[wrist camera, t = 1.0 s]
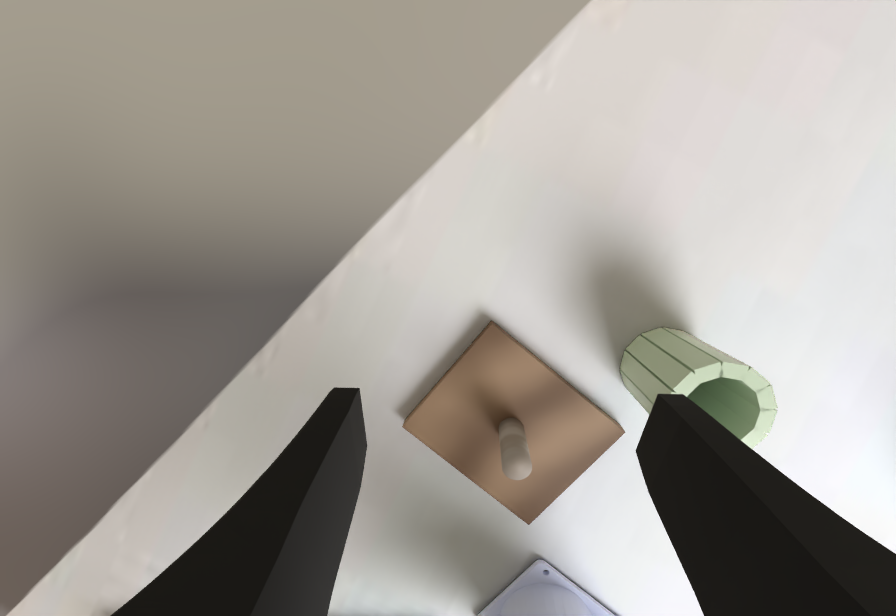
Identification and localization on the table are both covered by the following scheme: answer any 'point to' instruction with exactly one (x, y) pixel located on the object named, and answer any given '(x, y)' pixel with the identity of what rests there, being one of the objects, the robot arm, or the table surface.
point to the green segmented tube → (700, 381)
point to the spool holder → (512, 424)
